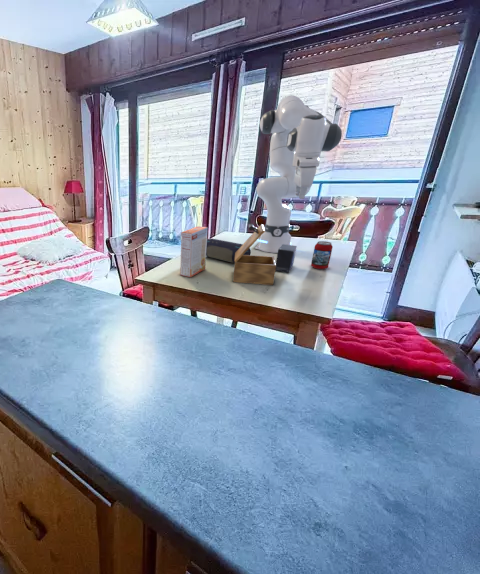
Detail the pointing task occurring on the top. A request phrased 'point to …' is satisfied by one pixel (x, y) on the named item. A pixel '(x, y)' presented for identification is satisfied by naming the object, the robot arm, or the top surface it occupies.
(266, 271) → the basket
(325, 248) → the beverage can
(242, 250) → the basket lid
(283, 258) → the small box
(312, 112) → the robot arm
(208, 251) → the portable speaker
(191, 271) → the cracker box
